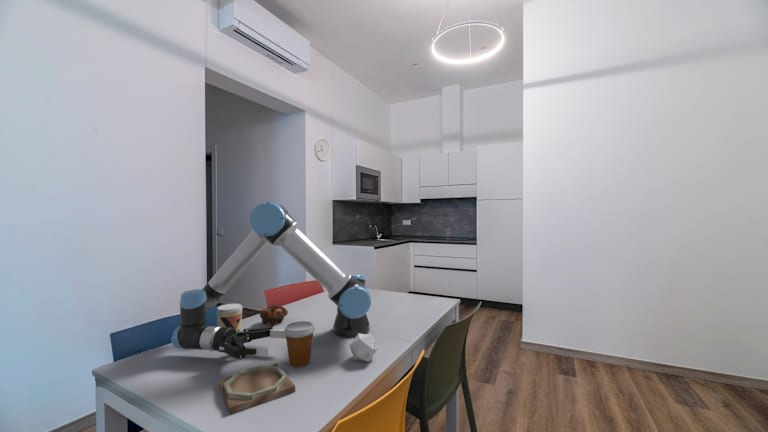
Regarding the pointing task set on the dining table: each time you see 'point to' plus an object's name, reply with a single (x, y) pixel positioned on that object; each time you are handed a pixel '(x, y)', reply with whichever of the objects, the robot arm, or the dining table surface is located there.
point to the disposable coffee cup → (299, 342)
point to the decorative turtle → (273, 314)
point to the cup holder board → (255, 387)
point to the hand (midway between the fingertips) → (278, 342)
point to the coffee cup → (230, 316)
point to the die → (363, 347)
